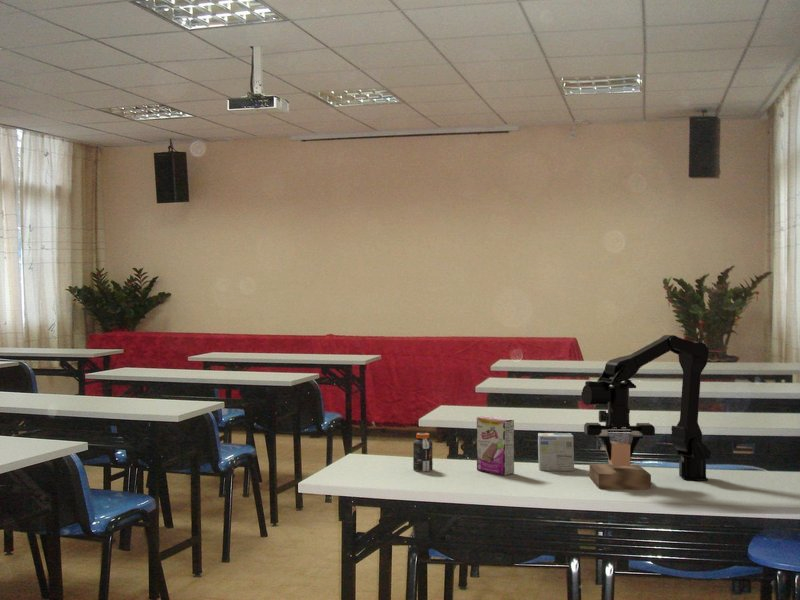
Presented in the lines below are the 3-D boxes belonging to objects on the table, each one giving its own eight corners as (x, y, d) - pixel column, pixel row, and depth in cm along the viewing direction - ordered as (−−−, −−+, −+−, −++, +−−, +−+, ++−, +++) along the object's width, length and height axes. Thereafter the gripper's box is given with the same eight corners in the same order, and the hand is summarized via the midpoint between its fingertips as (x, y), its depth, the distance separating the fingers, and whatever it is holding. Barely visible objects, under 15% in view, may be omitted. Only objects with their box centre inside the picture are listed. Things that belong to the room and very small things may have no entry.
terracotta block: (626, 462, 221) (626, 441, 221) (630, 465, 216) (630, 444, 216) (608, 462, 221) (608, 441, 221) (612, 465, 216) (612, 444, 216)
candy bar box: (475, 470, 237) (475, 417, 237) (486, 468, 241) (486, 415, 241) (504, 476, 229) (504, 420, 229) (515, 473, 232) (514, 419, 233)
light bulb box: (572, 467, 242) (571, 432, 243) (574, 471, 236) (574, 436, 236) (537, 466, 243) (537, 432, 244) (539, 470, 237) (538, 435, 237)
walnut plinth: (638, 478, 225) (638, 464, 225) (651, 489, 211) (650, 474, 211) (589, 477, 226) (589, 464, 226) (599, 488, 212) (598, 474, 212)
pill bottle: (433, 472, 235) (433, 434, 235) (413, 472, 235) (413, 434, 235) (432, 468, 241) (431, 431, 241) (412, 468, 241) (412, 431, 241)
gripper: (645, 401, 227) (645, 454, 226) (580, 401, 228) (580, 454, 227) (655, 405, 215) (655, 462, 215) (587, 405, 217) (587, 461, 216)
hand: (619, 459), depth 219 cm, fingers closed on terracotta block, 5 cm apart
